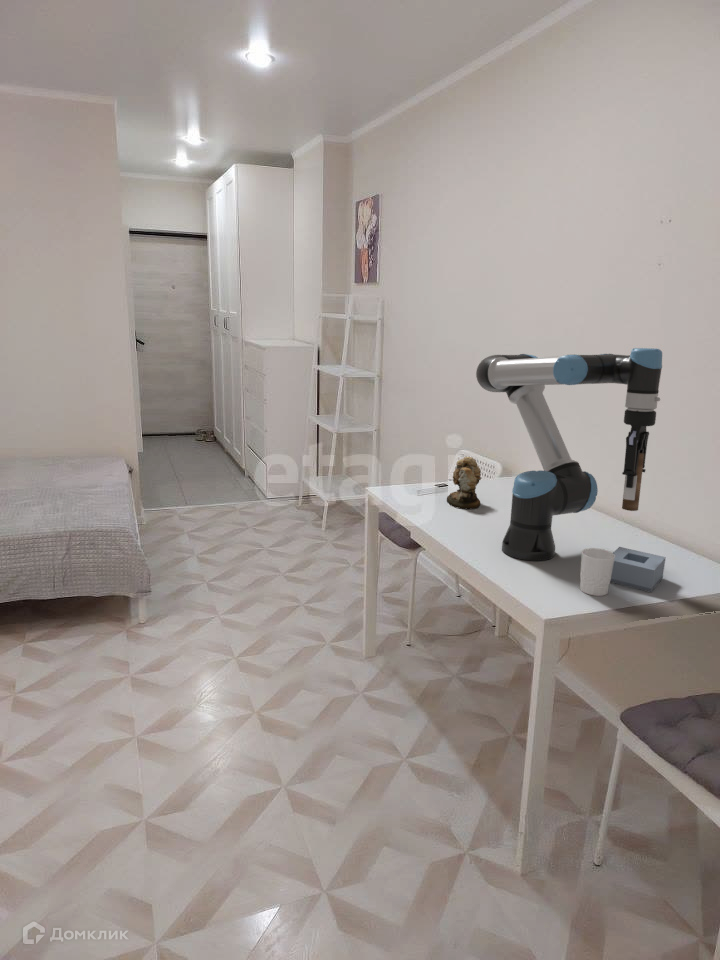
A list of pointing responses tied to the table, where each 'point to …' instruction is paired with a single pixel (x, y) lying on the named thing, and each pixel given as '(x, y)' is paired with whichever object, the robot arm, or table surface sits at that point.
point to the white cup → (596, 571)
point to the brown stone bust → (465, 484)
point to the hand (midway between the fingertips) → (631, 497)
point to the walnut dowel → (633, 504)
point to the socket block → (637, 569)
